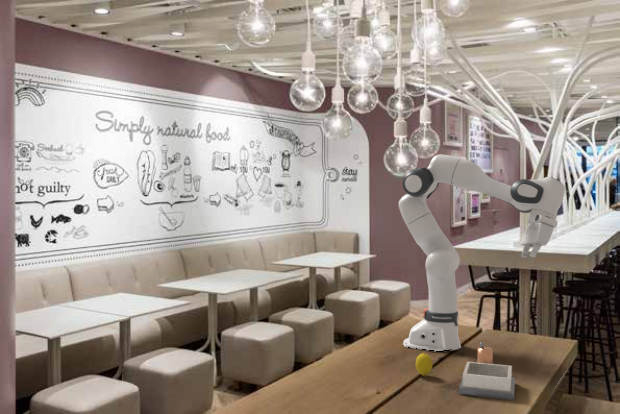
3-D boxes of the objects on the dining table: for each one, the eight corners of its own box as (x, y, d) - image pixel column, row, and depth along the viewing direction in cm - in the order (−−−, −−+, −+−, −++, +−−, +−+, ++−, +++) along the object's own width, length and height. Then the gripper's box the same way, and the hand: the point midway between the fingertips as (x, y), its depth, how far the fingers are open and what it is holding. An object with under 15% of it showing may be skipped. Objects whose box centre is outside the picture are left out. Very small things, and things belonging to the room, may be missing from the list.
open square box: (459, 394, 188) (459, 374, 188) (464, 378, 203) (464, 360, 203) (513, 400, 183) (514, 380, 183) (514, 383, 198) (515, 365, 198)
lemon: (433, 374, 208) (433, 351, 207) (430, 379, 202) (431, 355, 202) (416, 372, 209) (417, 349, 209) (414, 377, 204) (414, 354, 204)
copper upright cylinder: (487, 368, 214) (488, 340, 213) (495, 373, 209) (495, 344, 209) (474, 369, 213) (474, 341, 212) (481, 374, 208) (482, 345, 207)
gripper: (523, 220, 232) (511, 254, 231) (542, 215, 211) (528, 253, 210) (539, 226, 231) (527, 260, 230) (559, 222, 211) (546, 259, 210)
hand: (528, 257), depth 220 cm, fingers open, 8 cm apart
